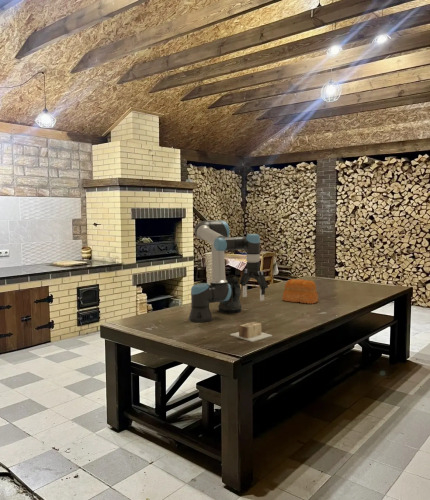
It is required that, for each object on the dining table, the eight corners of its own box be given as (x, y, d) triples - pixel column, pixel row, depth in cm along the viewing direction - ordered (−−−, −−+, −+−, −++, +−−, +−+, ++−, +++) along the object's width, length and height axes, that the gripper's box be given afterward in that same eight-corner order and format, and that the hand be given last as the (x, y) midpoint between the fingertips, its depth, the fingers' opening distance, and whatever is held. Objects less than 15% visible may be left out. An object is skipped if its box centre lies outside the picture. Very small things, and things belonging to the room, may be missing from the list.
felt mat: (229, 335, 251) (229, 334, 251) (249, 330, 262) (249, 329, 261) (252, 342, 238) (252, 340, 237) (272, 336, 248) (272, 335, 248)
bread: (312, 305, 330) (312, 282, 329) (280, 301, 345) (280, 279, 343) (320, 301, 343) (320, 279, 342) (289, 298, 358) (289, 277, 356)
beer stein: (225, 307, 324) (225, 273, 322) (249, 310, 314) (249, 275, 312) (214, 312, 310) (213, 276, 308) (238, 315, 300) (238, 278, 298)
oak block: (253, 332, 255) (239, 336, 247) (253, 321, 255) (238, 325, 246) (261, 334, 251) (246, 338, 243) (261, 323, 250) (246, 327, 242)
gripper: (274, 262, 241) (274, 300, 243) (242, 259, 260) (242, 294, 262) (265, 264, 236) (264, 302, 238) (233, 260, 255) (233, 296, 257)
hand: (253, 298), depth 250 cm, fingers open, 13 cm apart
